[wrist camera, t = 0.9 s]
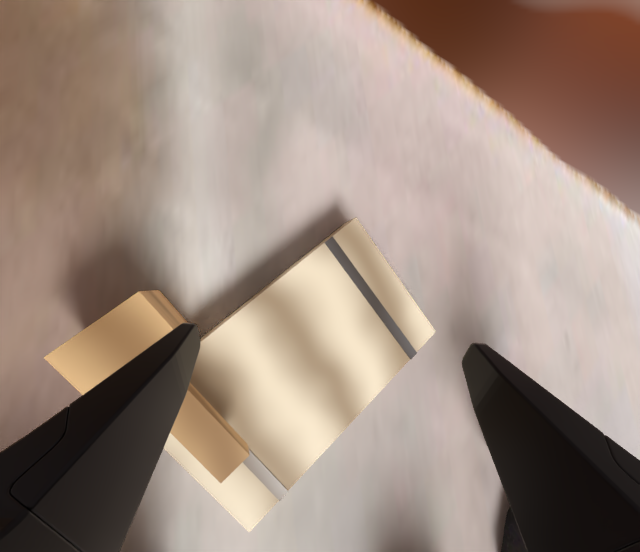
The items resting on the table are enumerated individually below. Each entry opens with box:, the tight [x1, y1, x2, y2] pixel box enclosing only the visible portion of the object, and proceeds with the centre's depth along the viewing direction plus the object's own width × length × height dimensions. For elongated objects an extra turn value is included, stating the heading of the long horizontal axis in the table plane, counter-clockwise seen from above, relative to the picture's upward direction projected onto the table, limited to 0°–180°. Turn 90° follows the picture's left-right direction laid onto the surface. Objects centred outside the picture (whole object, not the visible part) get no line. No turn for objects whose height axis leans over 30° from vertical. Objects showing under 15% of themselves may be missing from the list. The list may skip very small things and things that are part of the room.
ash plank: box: [164, 218, 436, 532], centre depth 22 cm, size 20×12×2 cm, turn 129°
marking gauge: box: [44, 290, 250, 483], centre depth 18 cm, size 5×11×5 cm, turn 39°
